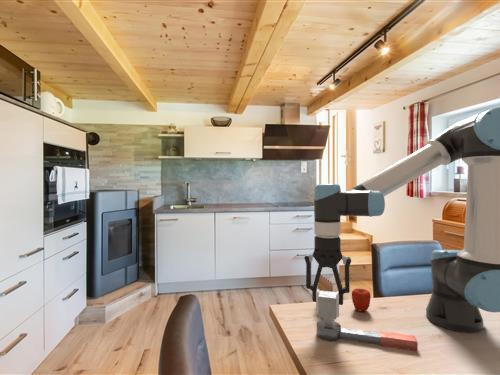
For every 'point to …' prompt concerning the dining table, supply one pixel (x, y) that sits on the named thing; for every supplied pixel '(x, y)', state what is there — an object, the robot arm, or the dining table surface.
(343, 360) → the dining table surface
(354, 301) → the apple
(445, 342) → the dining table surface
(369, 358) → the dining table surface
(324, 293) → the brushed steel cube
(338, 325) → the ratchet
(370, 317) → the dining table surface
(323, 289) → the ammunition clip
